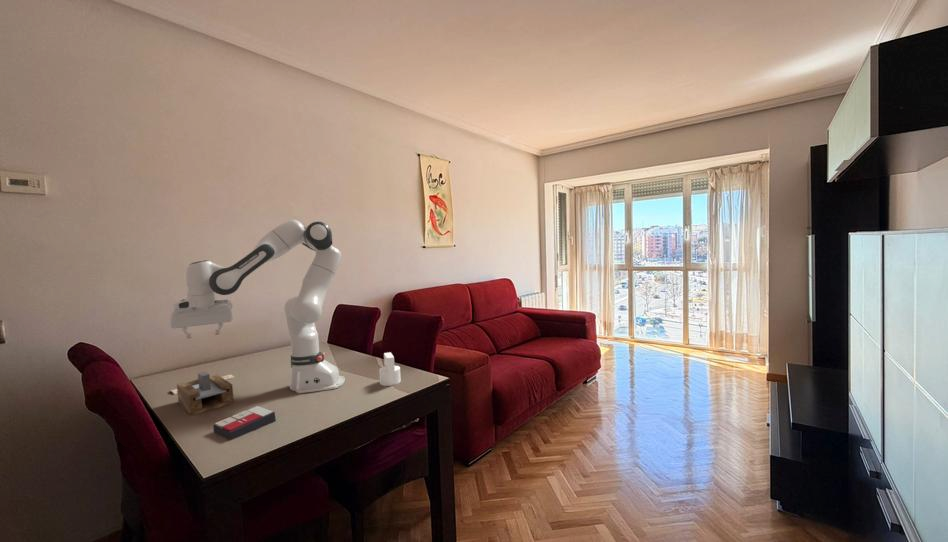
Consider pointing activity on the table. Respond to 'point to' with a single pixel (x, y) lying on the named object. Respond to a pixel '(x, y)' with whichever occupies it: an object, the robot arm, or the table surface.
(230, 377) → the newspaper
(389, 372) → the cylinder with rectangular tab
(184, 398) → the walnut box
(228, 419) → the black red flat block
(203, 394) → the cover plate
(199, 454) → the table surface
